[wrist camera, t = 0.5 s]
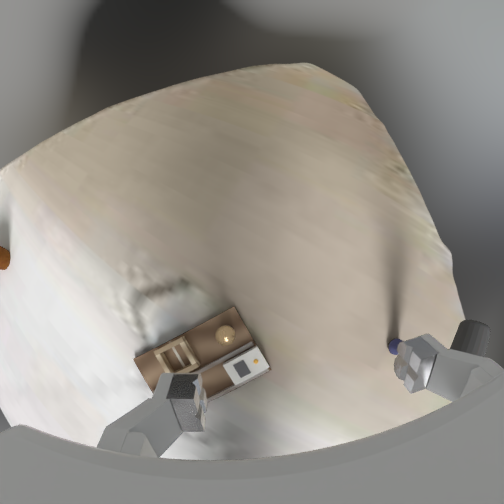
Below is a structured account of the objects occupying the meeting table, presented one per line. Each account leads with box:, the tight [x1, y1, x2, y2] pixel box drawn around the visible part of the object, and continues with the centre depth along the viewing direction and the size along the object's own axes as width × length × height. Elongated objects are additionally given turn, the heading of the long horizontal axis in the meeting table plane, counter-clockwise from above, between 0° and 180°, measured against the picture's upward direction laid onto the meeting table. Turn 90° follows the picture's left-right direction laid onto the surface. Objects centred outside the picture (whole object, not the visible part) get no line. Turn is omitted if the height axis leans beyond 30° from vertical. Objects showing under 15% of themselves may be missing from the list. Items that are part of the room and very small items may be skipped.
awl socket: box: [154, 336, 200, 373], centre depth 52 cm, size 7×7×3 cm
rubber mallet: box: [388, 320, 490, 357], centre depth 43 cm, size 12×8×30 cm, turn 152°
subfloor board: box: [133, 307, 271, 403], centre depth 54 cm, size 16×26×2 cm, turn 120°
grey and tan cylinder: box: [215, 325, 235, 346], centre depth 51 cm, size 4×4×8 cm
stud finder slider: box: [223, 345, 269, 385], centre depth 52 cm, size 5×8×3 cm, turn 120°
